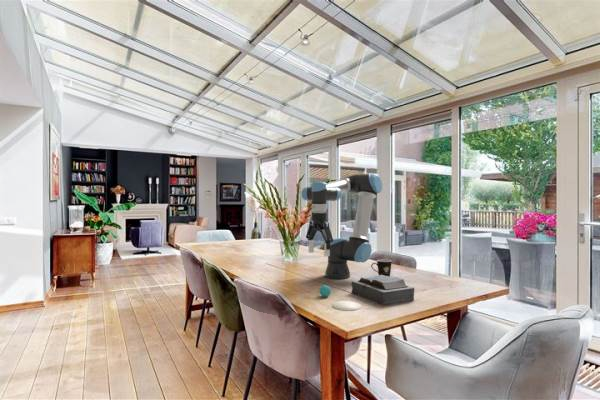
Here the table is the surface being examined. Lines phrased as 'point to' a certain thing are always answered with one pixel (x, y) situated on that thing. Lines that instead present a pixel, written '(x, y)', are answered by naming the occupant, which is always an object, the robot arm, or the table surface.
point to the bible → (383, 289)
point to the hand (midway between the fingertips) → (318, 254)
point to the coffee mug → (383, 267)
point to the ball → (325, 290)
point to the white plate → (346, 305)
